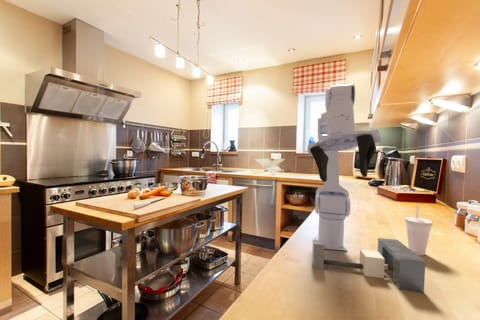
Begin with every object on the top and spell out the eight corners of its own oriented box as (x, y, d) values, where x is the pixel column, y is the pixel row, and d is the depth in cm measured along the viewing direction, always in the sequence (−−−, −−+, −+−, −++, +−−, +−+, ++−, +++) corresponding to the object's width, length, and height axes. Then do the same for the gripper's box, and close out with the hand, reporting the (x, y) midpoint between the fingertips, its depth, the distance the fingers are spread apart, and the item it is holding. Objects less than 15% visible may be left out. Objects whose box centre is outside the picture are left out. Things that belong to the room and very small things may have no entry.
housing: (377, 262, 59) (378, 237, 58) (396, 264, 58) (397, 239, 57) (399, 289, 47) (400, 258, 47) (423, 292, 46) (425, 261, 46)
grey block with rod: (311, 261, 58) (312, 238, 58) (381, 270, 55) (382, 245, 55) (313, 269, 54) (314, 244, 54) (388, 278, 51) (389, 252, 51)
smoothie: (418, 248, 69) (420, 202, 68) (437, 257, 62) (439, 207, 62) (398, 247, 68) (400, 202, 68) (415, 257, 62) (417, 207, 62)
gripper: (303, 123, 53) (299, 172, 46) (372, 102, 44) (379, 160, 38) (314, 139, 57) (313, 187, 51) (379, 124, 49) (388, 179, 42)
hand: (342, 177), depth 44 cm, fingers open, 7 cm apart
